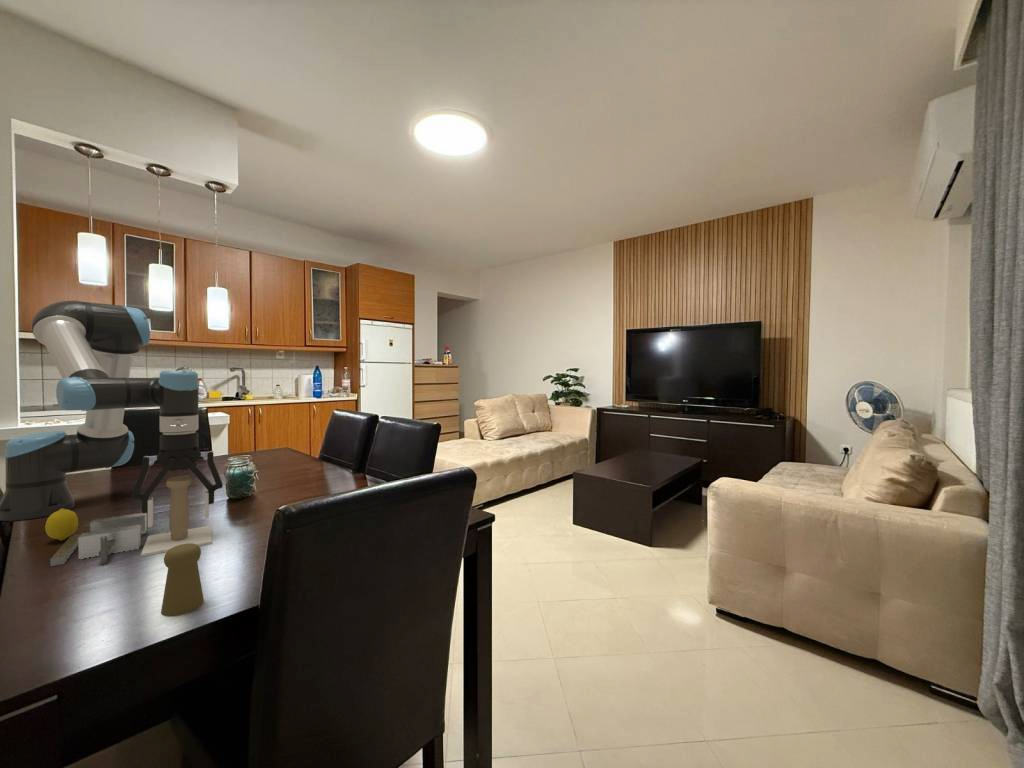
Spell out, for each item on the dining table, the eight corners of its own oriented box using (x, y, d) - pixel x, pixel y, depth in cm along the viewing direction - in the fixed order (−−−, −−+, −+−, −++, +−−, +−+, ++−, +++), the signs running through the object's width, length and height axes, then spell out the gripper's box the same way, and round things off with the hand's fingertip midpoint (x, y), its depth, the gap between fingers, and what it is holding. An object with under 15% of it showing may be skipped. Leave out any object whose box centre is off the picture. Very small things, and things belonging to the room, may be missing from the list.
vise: (71, 545, 101) (71, 517, 101) (147, 533, 109) (147, 507, 109) (42, 581, 84) (41, 547, 84) (134, 563, 92) (134, 532, 92)
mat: (148, 538, 104) (148, 535, 104) (212, 527, 111) (212, 525, 111) (140, 556, 93) (140, 554, 93) (211, 543, 101) (211, 541, 101)
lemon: (82, 538, 103) (82, 507, 103) (50, 546, 98) (50, 513, 98) (72, 534, 105) (72, 503, 105) (41, 542, 100) (40, 510, 100)
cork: (177, 598, 77) (177, 539, 76) (211, 597, 77) (211, 539, 77) (151, 617, 70) (151, 553, 70) (189, 615, 71) (188, 553, 71)
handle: (165, 545, 98) (165, 483, 98) (167, 535, 103) (167, 477, 103) (191, 540, 101) (191, 480, 100) (192, 531, 106) (191, 474, 106)
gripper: (113, 438, 92) (113, 535, 92) (235, 431, 105) (235, 516, 106) (119, 433, 98) (119, 525, 98) (234, 427, 111) (234, 508, 112)
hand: (179, 521), depth 102 cm, fingers open, 10 cm apart
